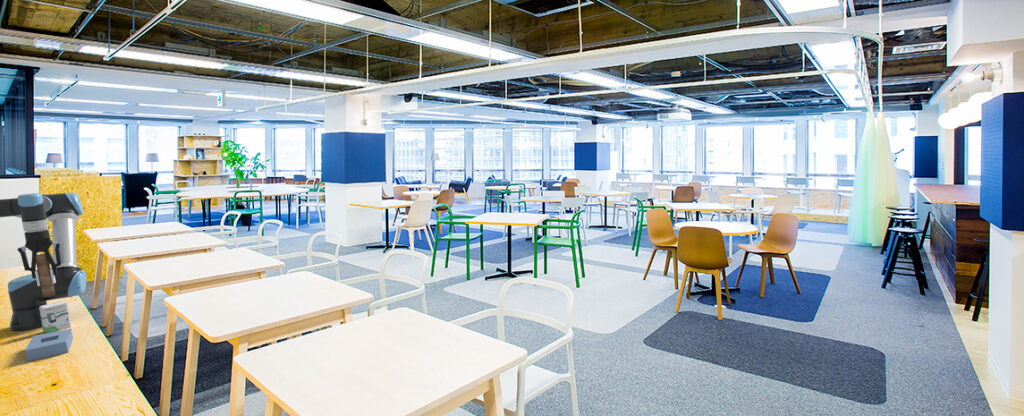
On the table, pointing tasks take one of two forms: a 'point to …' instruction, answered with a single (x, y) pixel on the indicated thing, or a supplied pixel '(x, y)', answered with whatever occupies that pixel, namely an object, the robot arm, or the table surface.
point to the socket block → (49, 344)
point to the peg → (44, 275)
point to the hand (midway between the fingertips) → (46, 284)
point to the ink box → (54, 317)
